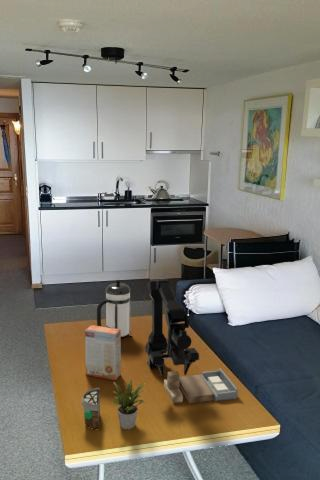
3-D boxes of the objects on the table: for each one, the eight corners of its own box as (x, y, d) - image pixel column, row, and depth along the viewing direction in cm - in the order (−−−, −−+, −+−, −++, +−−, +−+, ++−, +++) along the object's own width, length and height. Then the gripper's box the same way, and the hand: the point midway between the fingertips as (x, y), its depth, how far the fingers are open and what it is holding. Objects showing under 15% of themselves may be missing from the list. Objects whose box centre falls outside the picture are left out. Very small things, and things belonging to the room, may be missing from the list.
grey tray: (215, 401, 177) (216, 391, 176) (200, 378, 194) (200, 370, 193) (237, 398, 179) (237, 389, 178) (219, 376, 196) (220, 367, 195)
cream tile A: (217, 394, 180) (217, 390, 180) (213, 389, 185) (213, 384, 184) (227, 393, 181) (228, 389, 181) (223, 387, 186) (223, 383, 185)
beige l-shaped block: (172, 403, 175) (173, 381, 173) (163, 386, 187) (164, 366, 185) (182, 402, 176) (183, 380, 174) (173, 385, 188) (173, 365, 186)
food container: (83, 412, 167) (82, 387, 165) (100, 411, 168) (99, 386, 166) (80, 432, 155) (79, 406, 153) (98, 432, 156) (98, 405, 154)
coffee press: (105, 329, 244) (105, 274, 239) (134, 331, 242) (135, 276, 237) (96, 342, 228) (96, 284, 222) (128, 344, 226) (128, 286, 220)
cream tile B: (211, 386, 186) (211, 382, 186) (207, 381, 191) (207, 377, 190) (221, 385, 187) (222, 381, 187) (217, 380, 192) (218, 376, 191)
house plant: (154, 436, 154) (155, 391, 151) (114, 442, 150) (114, 397, 147) (143, 412, 168) (144, 371, 165) (106, 418, 164) (106, 376, 161)
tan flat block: (189, 403, 175) (189, 397, 174) (177, 382, 190) (177, 377, 190) (213, 400, 177) (213, 394, 177) (199, 380, 193) (200, 374, 192)
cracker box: (121, 374, 196) (121, 328, 192) (115, 381, 190) (115, 334, 186) (91, 369, 200) (91, 324, 196) (85, 375, 194) (84, 329, 190)
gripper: (156, 349, 167) (155, 388, 170) (204, 345, 171) (203, 383, 174) (149, 337, 177) (149, 374, 180) (195, 333, 182) (193, 370, 185)
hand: (173, 376), depth 180 cm, fingers open, 9 cm apart
